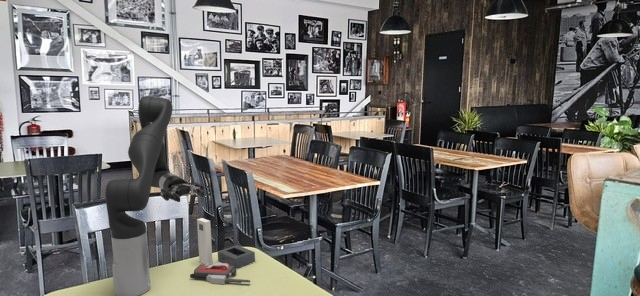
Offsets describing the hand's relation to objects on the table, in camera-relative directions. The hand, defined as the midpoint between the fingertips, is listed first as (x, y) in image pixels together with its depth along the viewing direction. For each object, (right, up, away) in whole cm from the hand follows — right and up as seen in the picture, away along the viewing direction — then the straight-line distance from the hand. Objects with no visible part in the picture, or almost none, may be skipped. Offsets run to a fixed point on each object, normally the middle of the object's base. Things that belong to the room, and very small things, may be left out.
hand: (191, 196), depth 150 cm
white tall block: (+6, -22, -3) cm, 23 cm away
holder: (+16, -22, -3) cm, 27 cm away
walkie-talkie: (+14, -24, -15) cm, 32 cm away
